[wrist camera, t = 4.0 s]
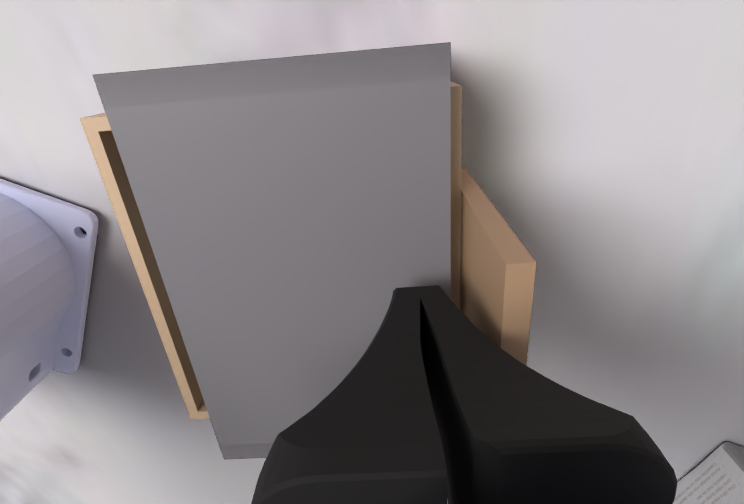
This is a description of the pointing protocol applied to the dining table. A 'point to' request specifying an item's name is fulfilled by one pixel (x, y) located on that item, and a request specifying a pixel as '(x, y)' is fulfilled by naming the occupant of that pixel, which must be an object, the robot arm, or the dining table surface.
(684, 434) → the dining table surface
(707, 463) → the hard drive box
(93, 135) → the mailer tray
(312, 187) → the mailer sleeve
